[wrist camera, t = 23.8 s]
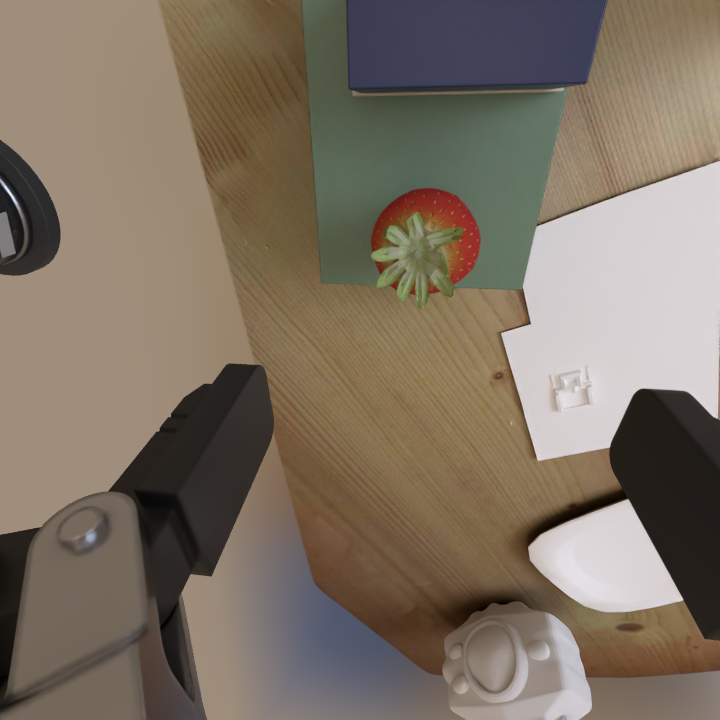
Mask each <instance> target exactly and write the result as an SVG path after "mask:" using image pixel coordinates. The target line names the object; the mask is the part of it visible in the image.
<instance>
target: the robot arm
mask: <svg viewBox="0 0 720 720" xmlns="http://www.w3.org/2000/svg"><path fill="white" fill-rule="evenodd" d="M32 241H33V227H32V222H31V218H30V215H29V212H28V210H27V208H26V205H25V203H24V201H23V200H22V198H21V196H20V195H19V193H18V192H17V190H16V189H15V187H14V186H13V185H12V183H11V182H10V181H9V180H8V179H7V177H6V176H5V175H4V174H3V173H2V172H1V171H0V265H5V264H9V263H12V262H14V261H17V260H19V259H21V258H23V257H24V256H25V255H26V254H27V253H28V252H29V250H30V248H31V245H32ZM273 428H274V417H273V411H272V405H271V400H270V394H269V388H268V383H267V377H266V372H265V369H264V367H263V366H261V365H247V364H227V365H226V366H225V367H224V369H223V370H222V371H221V373H220V374H219V375H218V377H217V378H216V379H215V381H214V382H213V383H212V384H203V385H202V386H200V387H199V388H198V389H196V390H195V391H193V392H192V393H190V394H189V395H187V396H186V397H184V398H183V400H182V401H181V402H180V403H179V405H178V406H177V407H176V408H175V410H174V411H173V412H172V413H171V417H168V418H167V419H166V421H165V422H164V423H163V424H162V426H161V427H160V431H159V432H156V433H155V434H154V436H153V437H152V438H151V439H150V441H149V442H148V443H147V444H146V445H145V447H144V448H143V449H142V450H141V452H140V453H139V454H138V455H137V457H136V458H135V459H134V460H133V462H132V463H131V464H130V465H129V467H128V468H127V469H126V470H125V471H124V473H123V474H122V475H121V476H120V478H119V479H118V480H117V481H116V483H115V484H114V485H113V486H112V487H111V489H110V490H109V491H108V492H100V493H95V494H92V495H89V496H86V497H83V498H81V499H79V500H76V501H74V502H73V503H71V504H69V505H67V506H66V507H64V508H63V509H61V510H59V511H58V512H57V513H56V514H54V515H53V516H52V517H51V518H50V519H49V520H48V521H47V522H45V523H44V525H43V526H42V527H40V528H34V529H29V530H24V531H18V532H13V533H8V534H2V535H0V720H207V718H206V715H205V711H204V707H203V703H202V698H201V693H200V688H199V682H198V677H197V671H196V666H195V661H194V655H193V650H192V645H191V640H190V634H189V628H188V623H187V618H186V613H185V607H184V602H183V598H182V595H181V592H182V590H183V588H184V586H185V584H186V582H187V580H188V578H189V576H190V574H195V575H204V576H212V574H213V572H214V569H215V567H216V565H217V563H218V560H219V558H220V556H221V553H222V551H223V549H224V547H225V544H226V542H227V540H228V538H229V535H230V533H231V531H232V529H233V526H234V524H235V522H236V519H237V517H238V515H239V513H240V510H241V508H242V506H243V503H244V501H245V499H246V497H247V494H248V492H249V490H250V488H251V485H252V483H253V481H254V478H255V476H256V474H257V472H258V469H259V467H260V465H261V462H262V460H263V458H264V456H265V453H266V451H267V449H268V447H269V444H270V442H271V438H272V434H273ZM609 455H610V463H611V467H612V470H613V472H614V474H615V476H616V478H617V479H618V481H619V483H620V485H621V487H622V488H623V490H624V492H625V494H626V496H627V498H628V499H629V501H630V503H631V505H632V507H633V509H634V510H635V512H636V514H637V516H638V518H639V520H640V521H641V523H642V525H643V527H644V529H645V531H646V532H647V534H648V536H649V538H650V540H651V541H652V543H653V545H654V547H655V549H656V551H657V552H658V554H659V556H660V558H661V560H662V562H663V563H664V565H665V567H666V569H667V571H668V573H669V574H670V576H671V578H672V580H673V582H674V583H675V585H676V587H677V589H678V591H679V593H680V594H681V596H682V598H683V600H684V602H685V604H686V605H687V607H688V609H689V611H690V613H691V615H692V616H693V618H694V620H695V622H696V624H697V626H698V627H699V629H700V631H701V633H702V635H703V636H704V638H705V639H711V640H719V641H720V420H718V419H717V418H714V417H713V416H712V415H711V414H710V413H709V412H708V411H707V410H706V409H705V408H704V407H703V406H702V405H701V404H700V403H699V402H698V401H697V400H696V399H695V398H694V397H693V396H692V395H691V394H690V393H688V392H686V391H680V390H663V389H646V388H643V389H639V390H638V391H637V392H635V394H634V395H633V397H632V399H631V401H630V403H629V405H628V407H627V409H626V412H625V414H624V416H623V418H622V420H621V422H620V424H619V427H618V429H617V431H616V433H615V435H614V437H613V439H612V442H611V445H610V454H609Z"/></svg>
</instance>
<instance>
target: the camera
mask: <svg viewBox="0 0 720 720" xmlns="http://www.w3.org/2000/svg"><path fill="white" fill-rule="evenodd" d="M444 646H445V652H446V660H445V662H444V664H443V668H442V672H443V675H444V678H445V680H446V682H447V684H448V687H449V695H448V702H449V707H450V709H451V710H452V711H454V712H455V713H456V714H458V715H460V716H461V717H463V718H464V719H466V720H579V719H580V718H582V717H583V716H584V715H586V714H587V713H588V712H589V711H590V710H591V708H592V703H591V692H590V687H589V685H588V683H587V681H586V677H585V672H584V667H583V664H582V662H581V659H580V654H579V648H578V646H577V644H576V641H575V639H574V637H573V635H572V633H571V631H570V630H569V629H568V628H567V627H566V626H565V625H564V624H563V623H562V622H561V621H560V620H558V619H557V618H556V617H554V616H553V615H551V614H549V613H546V612H542V611H537V610H532V609H529V608H528V607H527V606H526V605H524V604H523V603H522V602H518V601H517V602H511V603H509V604H507V605H499V604H497V603H492V604H490V605H489V606H488V607H487V608H486V609H485V610H484V611H477V612H475V613H473V614H471V616H470V617H469V618H468V620H467V621H466V622H465V623H464V624H463V625H461V626H460V627H458V628H457V629H456V630H454V631H453V632H452V633H450V634H449V635H448V636H447V637H446V638H445V643H444Z"/></svg>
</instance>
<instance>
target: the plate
mask: <svg viewBox="0 0 720 720" xmlns="http://www.w3.org/2000/svg"><path fill="white" fill-rule="evenodd" d="M528 550H529V558H530V561H531V562H532V563H533V564H534V565H535V567H536V568H537V569H538V570H539V571H540V572H541V573H542V574H543V575H544V576H545V577H546V578H547V579H549V580H550V581H551V582H552V583H553V584H554V585H556V586H557V587H558V588H559V589H560V590H562V591H563V592H564V593H565V594H567V595H568V596H569V597H571V598H572V599H574V600H575V601H577V602H579V603H580V604H582V605H583V606H585V607H588V608H592V609H595V610H599V611H602V612H630V611H636V610H641V609H647V608H653V607H657V606H661V605H666V604H670V603H674V602H678V601H682V600H683V598H682V596H681V594H680V593H679V591H678V589H677V587H676V585H675V583H674V582H673V580H672V578H671V576H670V574H669V573H668V571H667V569H666V567H665V565H664V563H663V562H662V560H661V558H660V556H659V554H658V552H657V551H656V549H655V547H654V545H653V543H652V541H651V540H650V538H649V536H648V534H647V532H646V531H645V529H644V527H643V525H642V523H641V521H640V520H639V518H638V516H637V514H636V512H635V510H634V509H633V507H632V505H631V503H630V501H629V499H628V498H625V499H622V500H619V501H616V502H613V503H611V504H608V505H605V506H603V507H600V508H597V509H594V510H592V511H589V512H587V513H584V514H582V515H579V516H576V517H574V518H571V519H569V520H566V521H564V522H562V523H560V524H558V525H556V526H554V527H552V528H550V529H548V530H546V531H544V532H542V533H540V534H539V535H538V536H537V537H536V538H535V539H534V540H533V541H532V542H531V543H530V544H529V545H528Z"/></svg>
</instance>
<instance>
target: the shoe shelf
mask: <svg viewBox="0 0 720 720" xmlns="http://www.w3.org/2000/svg"><path fill="white" fill-rule="evenodd" d="M301 5H302V19H303V33H304V47H305V61H306V75H307V89H308V104H309V118H310V132H311V146H312V160H313V174H314V188H315V202H316V216H317V230H318V244H319V258H320V272H321V283H328V284H358V285H377V282H378V279H379V277H380V276H381V275H380V273H379V271H378V268H377V266H376V263H375V261H374V260H373V259H372V257H371V254H372V247H371V237H372V232H373V228H374V225H375V223H376V221H377V219H378V217H379V215H380V214H381V212H382V211H383V210H384V209H385V208H386V207H387V206H388V205H389V204H390V203H391V202H393V201H394V200H395V199H396V198H398V197H400V196H401V195H403V194H405V193H407V192H409V191H411V190H415V189H421V188H434V189H440V190H444V191H447V192H449V193H452V194H454V195H457V196H458V197H459V199H460V200H461V201H462V202H463V203H464V204H465V205H466V206H467V208H468V209H469V210H470V212H471V214H472V216H473V217H474V219H475V221H476V223H477V226H478V229H479V232H480V236H481V245H480V250H479V256H478V258H477V261H476V263H475V265H474V267H473V269H472V270H471V271H470V272H469V273H468V274H467V275H466V276H465V277H464V278H463V279H462V280H460V281H459V282H457V283H456V284H455V285H453V287H454V288H479V289H509V290H522V288H523V283H524V279H525V274H526V270H527V266H528V261H529V257H530V252H531V248H532V244H533V239H534V235H535V230H536V226H537V222H538V217H539V213H540V208H541V204H542V200H543V195H544V191H545V186H546V182H547V178H548V173H549V169H550V164H551V160H552V156H553V151H554V147H555V142H556V138H557V134H558V129H559V125H560V120H561V116H562V112H563V107H564V103H565V98H566V94H567V89H568V87H564V90H563V91H561V92H542V93H497V94H452V95H407V96H362V97H355V96H353V95H352V90H350V89H349V88H348V52H347V13H346V0H301ZM389 286H390V285H389Z"/></svg>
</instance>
